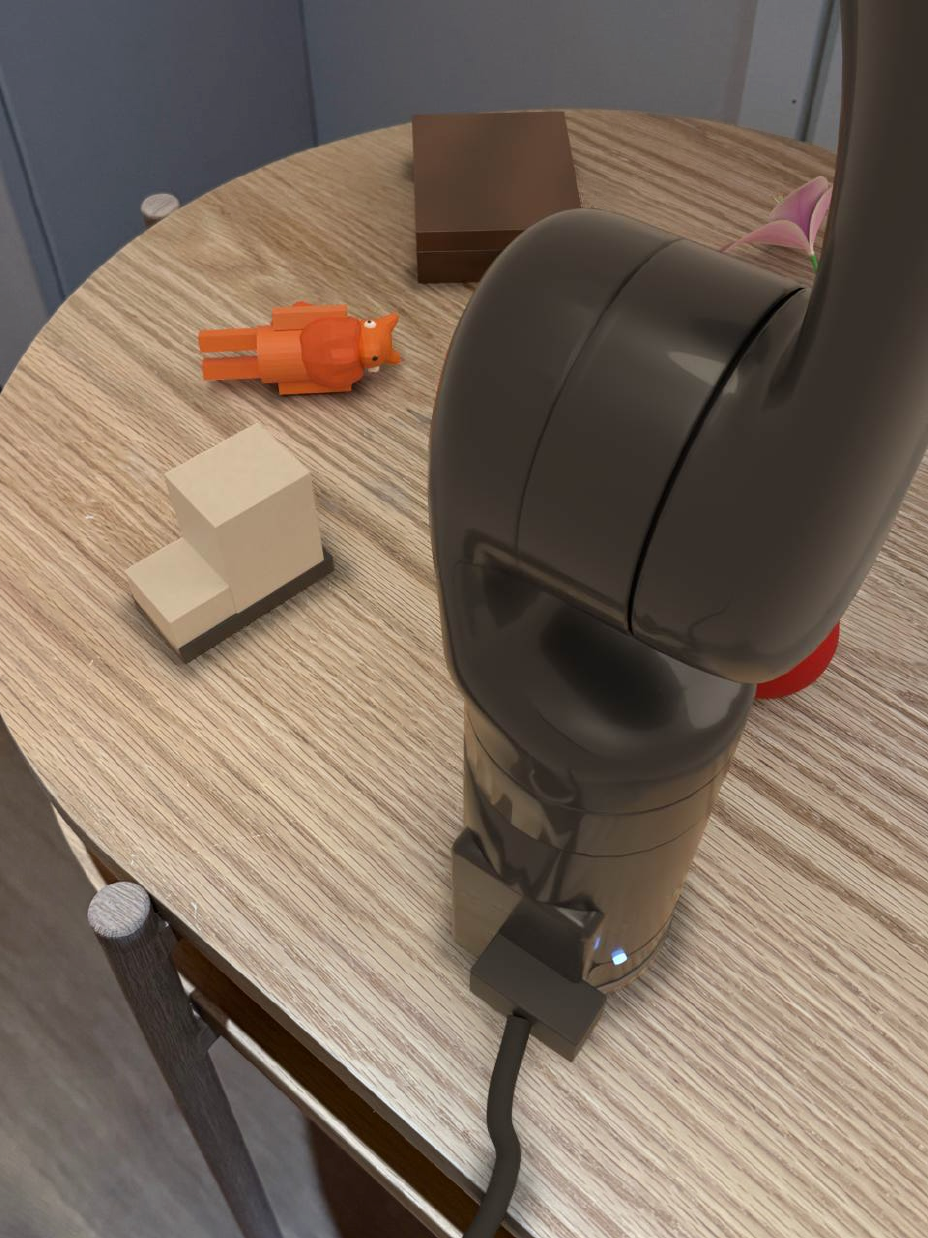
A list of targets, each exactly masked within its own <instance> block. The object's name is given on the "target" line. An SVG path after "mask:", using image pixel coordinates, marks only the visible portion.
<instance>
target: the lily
mask: <svg viewBox="0 0 928 1238" xmlns="http://www.w3.org/2000/svg"><path fill="white" fill-rule="evenodd" d="M832 190H833V185H832V186H831V187H830V188H829V181H828V179H827V178H826V176H824V175H819V176H816V177H814V178H813V179H811V180H808V181H807V182H806V183H804V184H802V185H800V186H799V187H798V188H796V189H794V190H793V191H792V192H790V193H789V194H787V195H786V196H785V194H784V192H782V193H777V197H778V198H779V200H777V199H776V198H775V197H773V196H772V195H771V196H770V198H771V199H772V200H773V201H776V202H777V204H776V205H775V206H774V208H772V210H771V212H770V214H769V217H768V223H766V224H764V225H761V226H760V227H758V228H757V229H754V230H753V231H752V232H749V233H748V234H746V235H745V236H743V237H742V238H739V239H736V240H732V241H730V242H728V243H726V244H725V245H723V246H721V247H719V248H718V249H717V250H718V251H721V252H723V253H725V251H729V250H730V249H733V248H735V247H738V246H739V245H742V244H749V243H751V244H765V245H771V246H772V245H773V246H779V247H787V248H790V249H791V248H793V249H797V250H803V251H805V252H806V253H807V254H808V256H809V259H810V261H811V263H812V266H813V270H814V273H815V274H814V275H816V271H817V266H818V262H817V258H816V254H815V251H814V243H815V239H816V237H817V233H818V232H819V231H818V230H819V227H820V225H821V223H822V220H823V218H824V216H825V213H826V212H827V210H828V209H829V207H830V201H831V196H832ZM781 194H782V196H781Z"/></svg>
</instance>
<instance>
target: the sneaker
mask: <svg viewBox="0 0 928 1238" xmlns="http://www.w3.org/2000/svg"><path fill="white" fill-rule="evenodd" d="M163 478H164V481H165V485H166V488H167V492H168V495H169V498H170V502H171V504H172V508H173V511H174V514H175V517H176V521H177V524H178V527H179V531H180V535H181V536H180V537H179V538H177V539H175V540H174V541H172V542H170V543H168V544H166V545H165V546H163V547H161V548H159V549H158V550H156V551H155V552H153V553H151V554H149V555H148V556H146V557H144V558H142V559H141V560H139V561H137V562H136V563H133V564H132V565H131V566H130V565H129V567H127V568H125V569H124V570H123V573H124V575H125V578H126V581H127V583H128V585H129V588H130V591H131V593H132V594H131V597H132V599H133V602H134V604H135V607H136V609H137V611H138V612H139V613H140V614H141V615H142V616H143V617H144V618H145V619H146V621H147V622H148V623H149V624H150V626H151V627H152V628H153V629H154V630H155V632H157V633H158V635H159V636H160V637H161V638H162V639H163V641H164V642H165V643H166V644H167V645H168V646H169V647H170V648H171V650H172V651H173V653H175V654H176V656H177V657H178V658H179V659H180V661H182V663H183V664H187V663H189V662H191V661H192V660H194V659H195V658H197V657H198V656H200V655H201V654H204V653H205V652H207V651H208V650H210V649H211V648H213V647H215V646H216V645H218V644H219V643H221V642H223V641H224V640H226V639H227V638H229V637H231V636H232V635H233V634H235V633H237V632H238V631H240V630H241V629H244V628H245V627H247V625H249V624H251V623H253V622H254V621H256V620H257V619H259V618H261V617H262V616H264V615H265V614H267V613H269V612H270V611H272V610H273V609H275V608H276V607H278V606H279V605H281V604H283V603H284V602H285V601H287V600H290V599H291V598H292V597H294V596H295V595H297V594H299V593H301V592H302V591H303V590H305V589H307V588H309V587H310V586H312V585H313V584H314V583H316V582H317V581H319V580H321V579H322V578H324V577H325V576H327V575H329V574H331V573H332V572H333V571H335V563H334V557H333V555H332V554H331V553H330V552H329V551H328V550H327V549H326V548H325V547H324V546H323V545H322V539H321V532H320V526H319V519H318V512H317V505H316V499H315V498H316V497H315V492H314V485H313V478H312V471H310V469H308V467H306V466H305V465H304V464H303V463H302V462H301V461H300V460H299V459H298V458H297V457H295V456H294V454H292V453H291V451H289V449H287V448H286V447H285V446H284V445H283V444H282V443H281V442H280V441H279V440H277V439H276V438H275V437H274V436H273V435H272V434H271V433H270V432H269V431H268V430H267V429H266V428H264V426H263V425H262V424H261V423H260V422H254V423H253V424H251V425H249V426H248V427H246V428H244V429H242V430H240V431H238V432H237V433H234V434H232V435H231V436H229V437H227V438H226V439H224V440H222V441H220V442H219V443H216V444H214V445H213V446H211V447H209V448H207V449H206V450H204V451H202V452H200V453H198V454H197V455H194V456H192V457H191V458H189V459H187V460H185V461H184V462H182V463H179V464H177V466H174V467H173V468H171V469H168V470H167V471H166V472H164V473H163Z"/></svg>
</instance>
